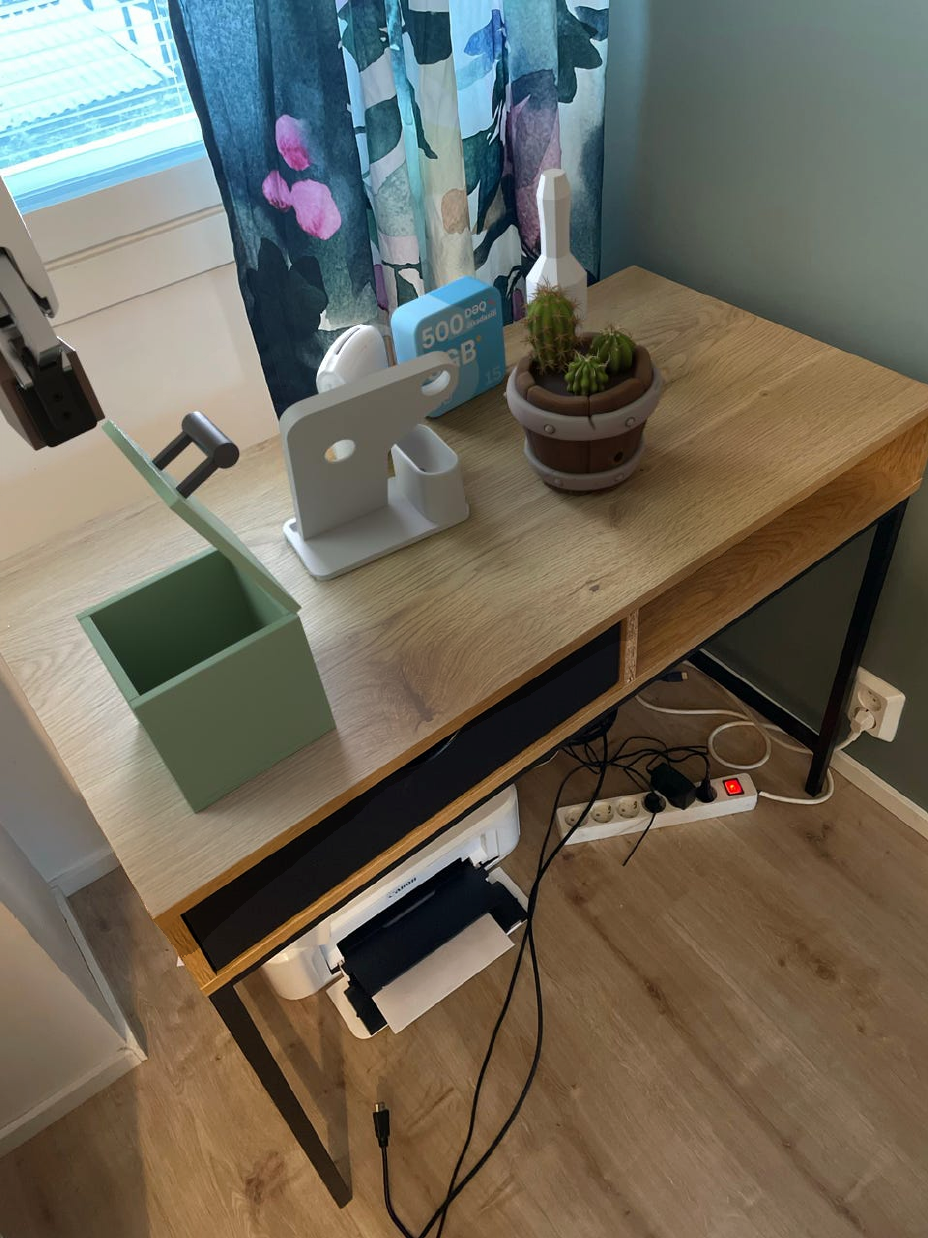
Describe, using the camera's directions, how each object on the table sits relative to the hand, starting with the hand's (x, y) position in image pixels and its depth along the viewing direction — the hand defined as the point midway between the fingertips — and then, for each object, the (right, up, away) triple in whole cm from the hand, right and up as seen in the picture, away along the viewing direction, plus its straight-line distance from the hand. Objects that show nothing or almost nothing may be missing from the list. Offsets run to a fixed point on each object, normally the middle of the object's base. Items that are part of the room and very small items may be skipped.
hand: (53, 416), depth 54 cm
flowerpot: (+37, +3, +39) cm, 54 cm away
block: (0, 0, 0) cm, 0 cm away
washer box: (+6, -21, +20) cm, 29 cm away
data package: (+24, +14, +51) cm, 58 cm away
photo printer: (+14, +8, +46) cm, 49 cm away
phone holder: (+16, -3, +36) cm, 39 cm away
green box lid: (+7, -6, +7) cm, 11 cm away
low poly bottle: (+36, +18, +53) cm, 66 cm away
